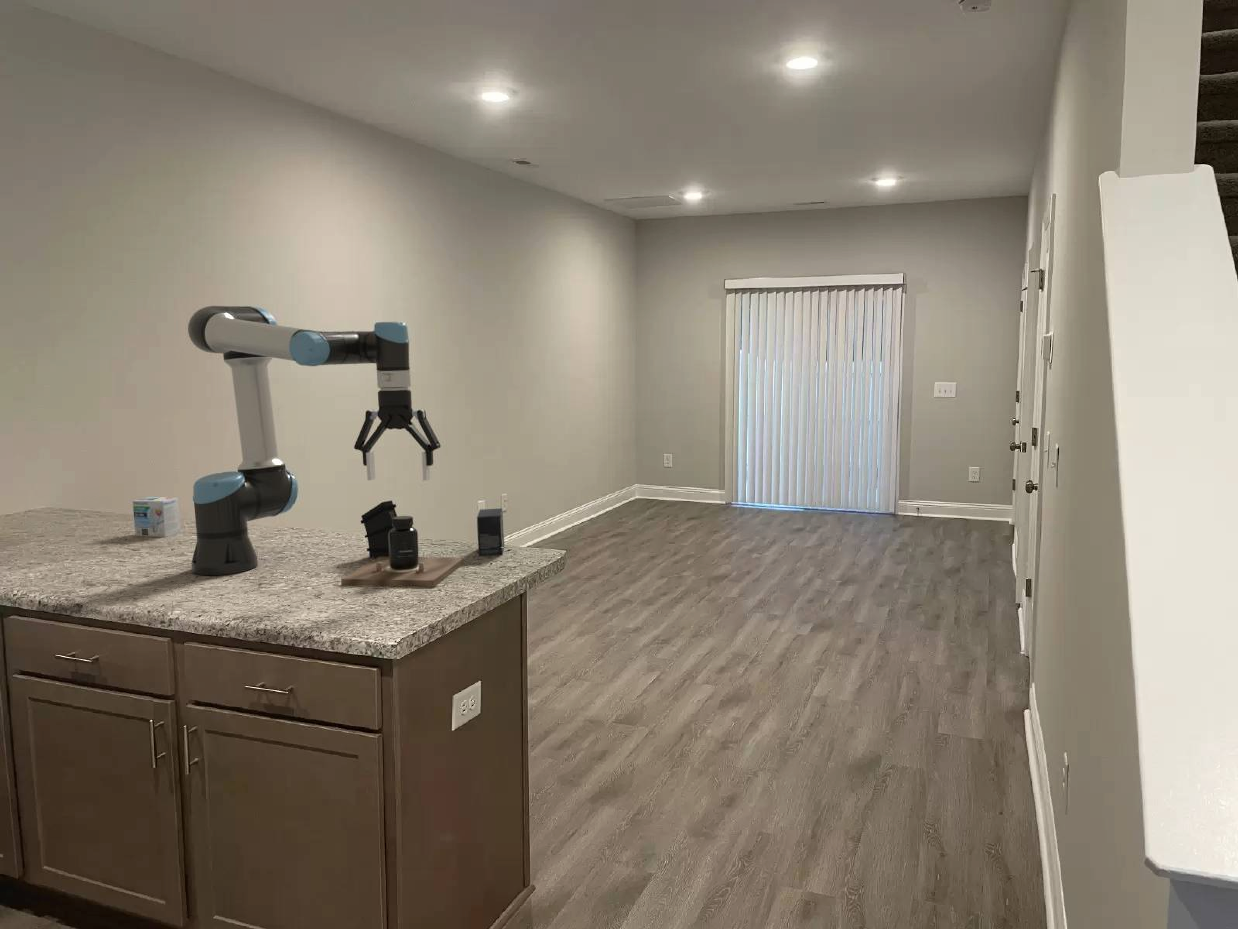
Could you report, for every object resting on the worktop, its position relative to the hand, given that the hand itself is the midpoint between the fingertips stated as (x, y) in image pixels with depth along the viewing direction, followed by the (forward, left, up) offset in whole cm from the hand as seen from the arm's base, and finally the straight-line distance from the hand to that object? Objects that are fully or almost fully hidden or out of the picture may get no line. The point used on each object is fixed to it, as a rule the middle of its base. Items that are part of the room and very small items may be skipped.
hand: (399, 479), depth 217 cm
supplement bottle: (0, 0, -21) cm, 21 cm away
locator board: (0, 0, -23) cm, 23 cm away
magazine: (-12, +16, -23) cm, 30 cm away
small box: (+14, +25, -23) cm, 37 cm away
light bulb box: (-93, +42, -23) cm, 104 cm away
